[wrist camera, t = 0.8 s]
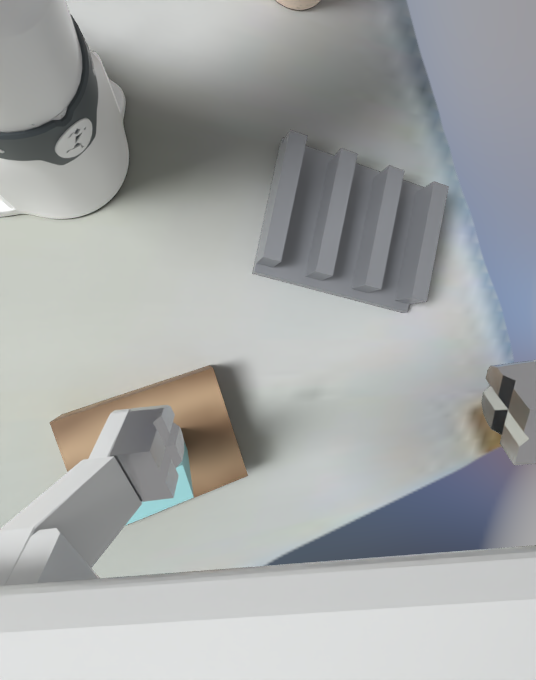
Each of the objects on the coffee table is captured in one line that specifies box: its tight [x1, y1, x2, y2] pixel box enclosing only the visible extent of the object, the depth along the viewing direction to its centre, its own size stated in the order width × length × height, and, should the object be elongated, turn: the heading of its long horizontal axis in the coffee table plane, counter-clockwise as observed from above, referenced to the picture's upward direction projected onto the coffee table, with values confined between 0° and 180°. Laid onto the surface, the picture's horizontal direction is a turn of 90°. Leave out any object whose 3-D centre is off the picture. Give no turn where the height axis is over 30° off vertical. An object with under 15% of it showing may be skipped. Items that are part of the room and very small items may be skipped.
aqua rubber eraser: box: [125, 441, 194, 526], centre depth 33 cm, size 2×6×12 cm, turn 108°
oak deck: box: [50, 365, 248, 525], centre depth 41 cm, size 12×16×4 cm
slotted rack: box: [252, 130, 449, 313], centre depth 46 cm, size 20×16×5 cm
